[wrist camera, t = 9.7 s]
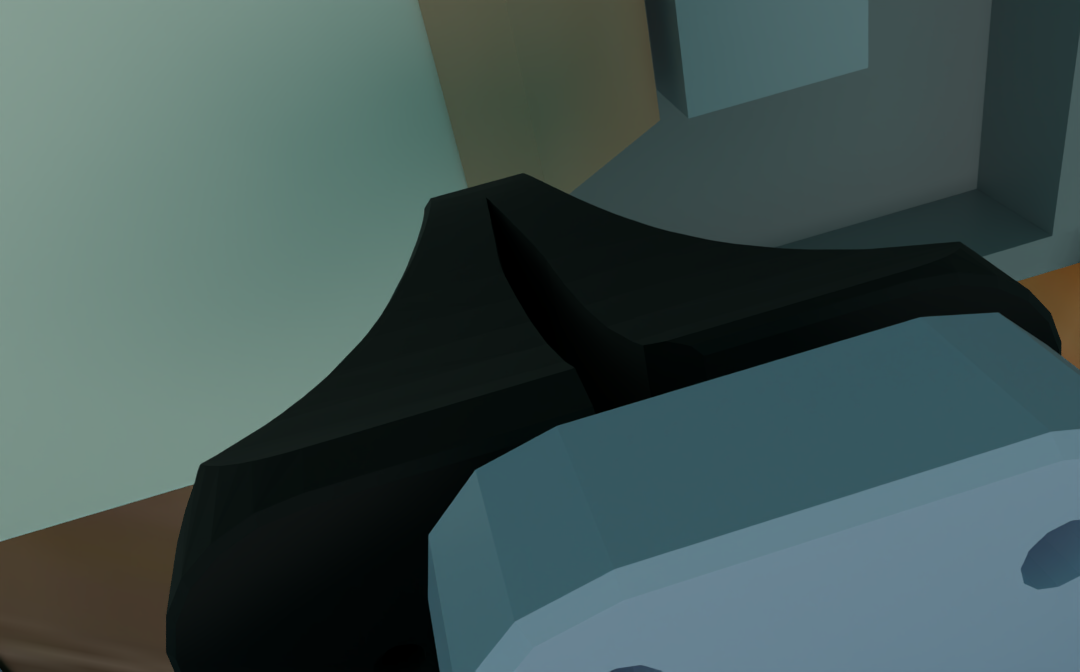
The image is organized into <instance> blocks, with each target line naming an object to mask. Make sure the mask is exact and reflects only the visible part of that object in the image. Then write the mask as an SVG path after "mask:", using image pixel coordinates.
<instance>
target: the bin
mask: <svg viewBox="0 0 1080 672" xmlns="http://www.w3.org/2000/svg"><path fill="white" fill-rule="evenodd" d="M644 2H645V0H644ZM645 10H646V3H645ZM646 17H647V10H646ZM647 25H648V18H647ZM648 32H649V25H648ZM649 40H650V33H649ZM650 48H651V40H650ZM651 55H652V48H651ZM652 63H653V56H652ZM653 70H654V63H653ZM654 78H655V71H654ZM655 85H656V78H655ZM656 93H657V101H658V108H659V116H660V121H659V122H657V123H656V124H655V125H654V126H652V127H651V128H650V129H649V130H647V131H646V132H645V133H644V134H643V135H641V136H640V137H639V138H638V139H636V140H635V141H634V142H633V143H631V144H630V145H629V146H628V147H627V148H625V149H624V150H623V151H622V152H620V153H619V154H618V155H617V156H615V157H614V158H613V159H612V160H611V161H609V162H608V163H607V164H606V165H604V166H603V167H602V168H601V169H599V170H598V171H597V172H596V173H594V174H593V175H592V176H591V177H590V178H588V179H587V180H586V181H585V182H583V183H582V184H581V185H580V186H578V187H577V188H576V189H575V190H574V191H572V192H571V193H570V195H572V196H574V197H576V198H578V199H581V200H583V201H585V202H587V203H590V204H592V205H594V206H597V207H599V208H602V209H604V210H607V211H609V212H612V213H614V214H617V215H620V216H623V217H626V218H628V219H631V220H634V221H637V222H640V223H643V224H646V225H649V226H653V227H656V228H660V229H663V230H667V231H671V232H676V233H680V234H685V235H689V236H694V237H699V238H703V239H708V240H714V241H720V242H727V243H733V244H743V245H753V246H762V247H772V248H788V249H875V248H887V247H899V246H911V245H923V244H934V243H946V242H958V241H959V242H961V243H963V244H964V245H966V246H967V247H969V248H970V249H972V250H973V251H975V252H976V253H978V254H979V255H980V256H982V257H983V258H985V259H986V260H987V261H989V262H990V263H992V264H993V265H994V266H996V267H997V268H999V269H1000V270H1002V271H1003V272H1004V273H1006V274H1007V275H1009V276H1010V277H1011V278H1013V279H1014V280H1016V281H1019V280H1023V279H1026V278H1029V277H1033V276H1036V275H1039V274H1043V273H1046V272H1049V271H1053V270H1056V269H1059V268H1063V267H1066V266H1069V265H1073V264H1076V263H1079V262H1080V0H868V68H865V69H862V70H858V71H855V72H851V73H848V74H844V75H840V76H837V77H833V78H830V79H826V80H823V81H819V82H816V83H812V84H809V85H805V86H802V87H798V88H795V89H791V90H788V91H784V92H780V93H777V94H773V95H770V96H766V97H763V98H759V99H756V100H752V101H749V102H745V103H742V104H738V105H735V106H731V107H727V108H724V109H720V110H717V111H713V112H710V113H706V114H703V115H699V116H696V117H692V118H687V117H686V116H685V115H684V114H683V113H682V112H681V111H680V110H679V109H677V108H676V107H675V106H674V105H673V104H672V103H671V102H670V101H669V100H667V99H666V98H665V97H664V96H663V95H662V94H661V93H660V92H659V91H658V90H657V86H656Z"/></svg>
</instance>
